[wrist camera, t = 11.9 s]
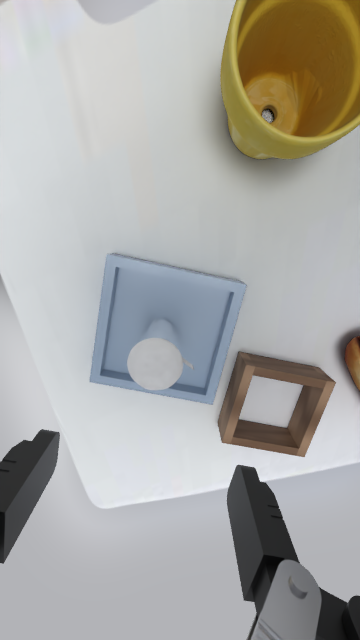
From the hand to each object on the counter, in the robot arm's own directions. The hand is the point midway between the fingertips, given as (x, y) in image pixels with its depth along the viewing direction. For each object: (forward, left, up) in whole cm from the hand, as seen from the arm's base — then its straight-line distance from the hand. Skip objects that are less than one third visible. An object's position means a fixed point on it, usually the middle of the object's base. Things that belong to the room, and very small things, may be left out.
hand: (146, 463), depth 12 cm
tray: (0, 0, -19) cm, 19 cm away
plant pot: (-22, +5, -19) cm, 30 cm away
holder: (+6, +14, -19) cm, 24 cm away
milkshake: (0, 0, -18) cm, 18 cm away
